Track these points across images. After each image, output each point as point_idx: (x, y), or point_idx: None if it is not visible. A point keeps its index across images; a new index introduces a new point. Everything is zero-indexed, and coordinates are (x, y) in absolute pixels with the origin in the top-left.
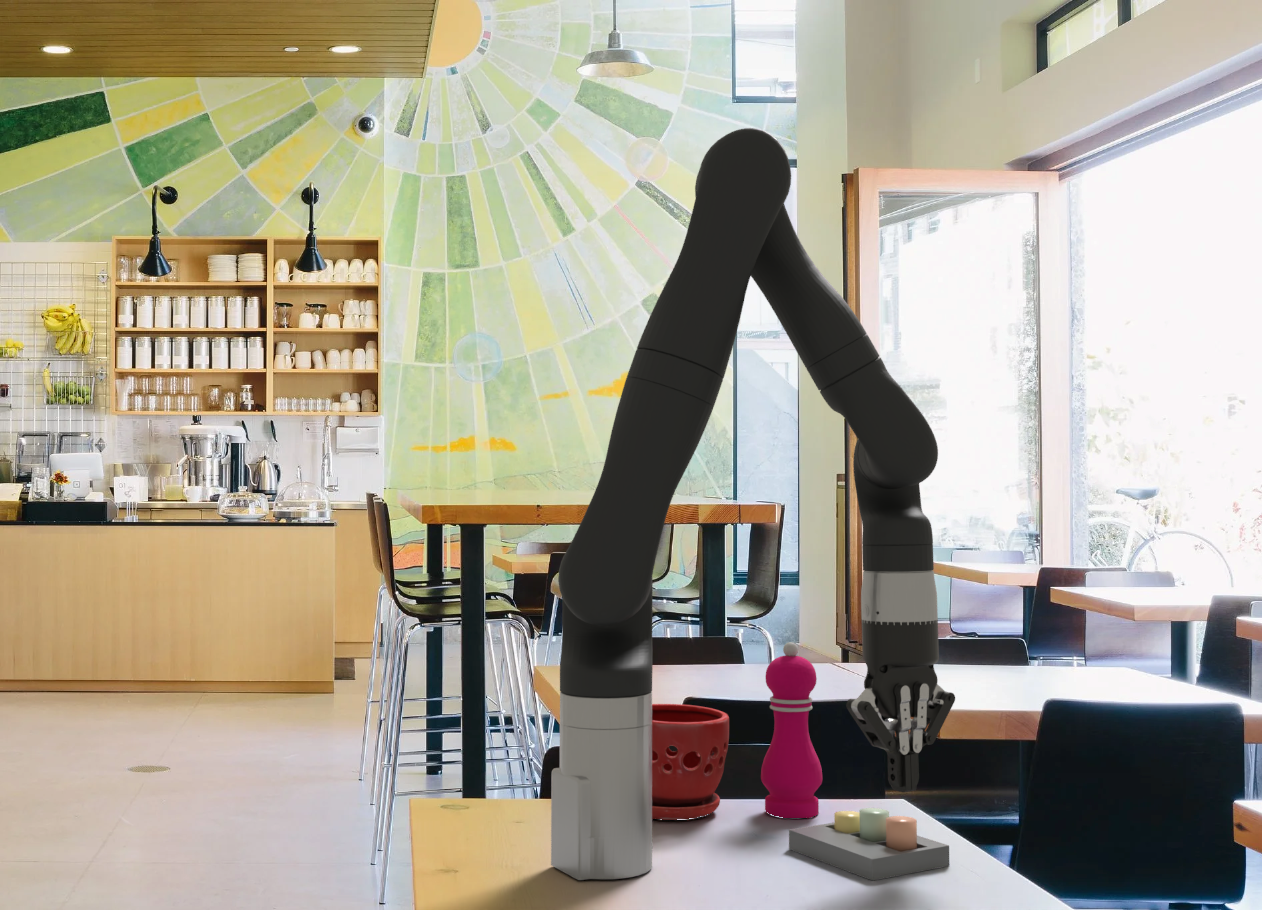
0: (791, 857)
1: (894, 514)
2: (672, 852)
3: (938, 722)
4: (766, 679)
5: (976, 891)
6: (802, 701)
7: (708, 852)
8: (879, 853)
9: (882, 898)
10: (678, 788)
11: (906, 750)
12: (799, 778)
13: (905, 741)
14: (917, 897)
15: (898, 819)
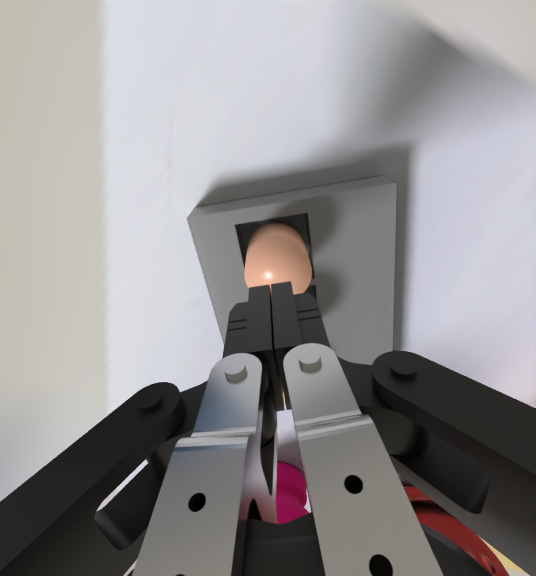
0: (407, 331)
1: None
2: (531, 395)
3: (63, 479)
4: None
5: (236, 20)
6: None
7: (491, 382)
8: (354, 216)
9: (449, 56)
10: (453, 528)
11: (305, 350)
12: (282, 518)
13: (309, 383)
14: (381, 31)
15: (282, 277)
